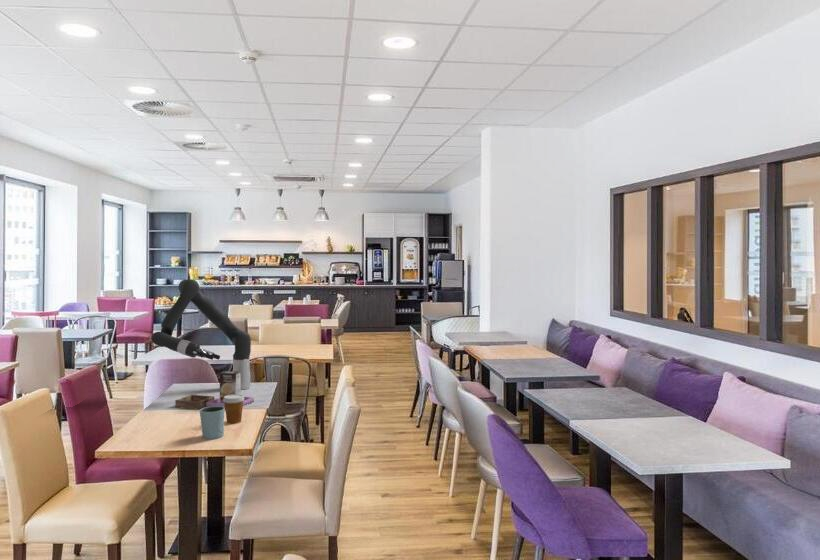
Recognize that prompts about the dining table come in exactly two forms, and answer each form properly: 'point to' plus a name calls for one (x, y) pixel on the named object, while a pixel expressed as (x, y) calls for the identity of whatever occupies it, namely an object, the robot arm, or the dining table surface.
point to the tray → (217, 403)
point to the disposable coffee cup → (233, 408)
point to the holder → (193, 401)
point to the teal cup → (212, 422)
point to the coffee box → (229, 383)
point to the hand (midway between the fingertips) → (216, 357)
